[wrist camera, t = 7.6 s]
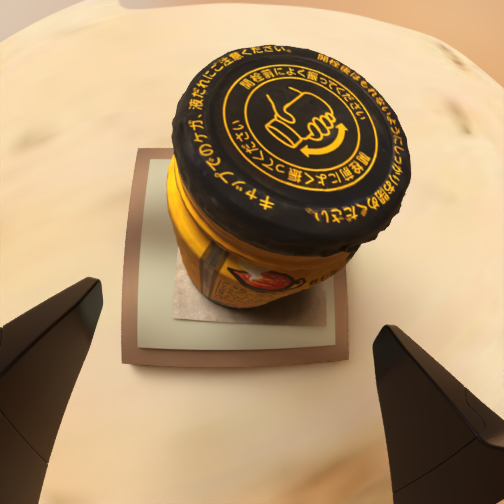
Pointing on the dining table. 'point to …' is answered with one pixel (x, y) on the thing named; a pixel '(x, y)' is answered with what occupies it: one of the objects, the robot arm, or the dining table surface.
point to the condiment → (277, 183)
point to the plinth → (197, 331)
